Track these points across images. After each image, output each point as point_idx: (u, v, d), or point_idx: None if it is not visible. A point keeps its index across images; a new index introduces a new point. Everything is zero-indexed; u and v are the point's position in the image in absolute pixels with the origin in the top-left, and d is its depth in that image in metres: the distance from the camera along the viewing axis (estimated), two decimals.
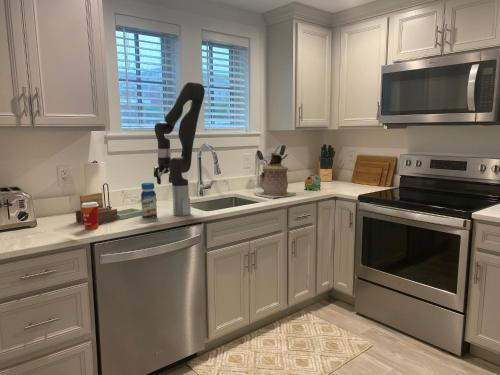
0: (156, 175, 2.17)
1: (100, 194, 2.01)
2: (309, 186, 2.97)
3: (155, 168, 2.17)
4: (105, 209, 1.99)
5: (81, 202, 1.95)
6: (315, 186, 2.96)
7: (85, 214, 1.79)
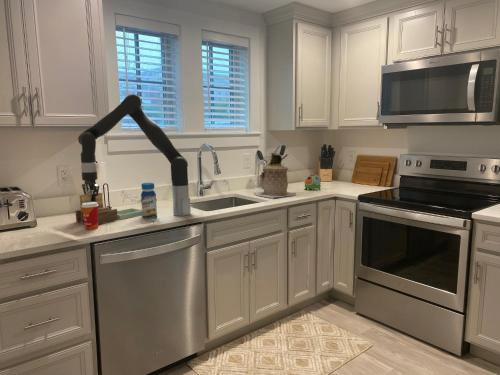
0: (97, 193, 1.97)
1: (100, 194, 2.01)
2: (309, 186, 2.97)
3: (97, 187, 1.94)
4: (105, 209, 1.99)
5: (81, 202, 1.95)
6: (315, 186, 2.96)
7: (85, 214, 1.79)
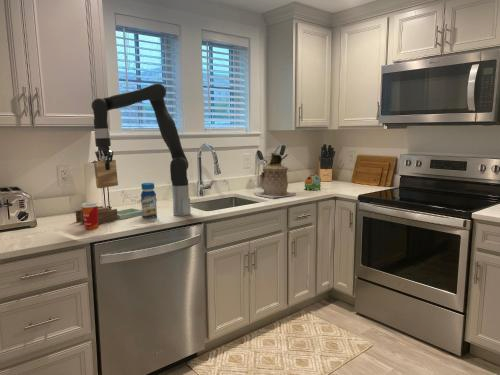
0: (111, 159, 1.98)
1: (114, 161, 2.03)
2: (309, 186, 2.97)
3: (111, 153, 1.96)
4: (105, 209, 1.99)
5: (96, 168, 1.96)
6: (315, 186, 2.96)
7: (85, 214, 1.79)
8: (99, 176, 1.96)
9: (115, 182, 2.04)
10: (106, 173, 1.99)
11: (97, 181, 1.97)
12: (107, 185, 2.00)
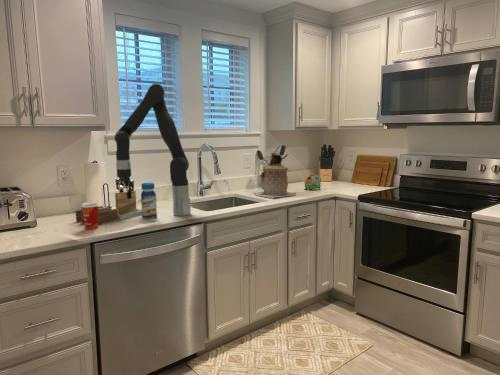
0: (133, 188, 2.05)
1: (134, 192, 2.11)
2: (309, 186, 2.97)
3: (132, 182, 2.04)
4: (105, 209, 1.99)
5: (116, 199, 2.05)
6: (315, 186, 2.96)
7: (85, 214, 1.79)
8: (119, 207, 2.05)
9: None
10: (126, 203, 2.08)
11: (117, 212, 2.06)
12: None
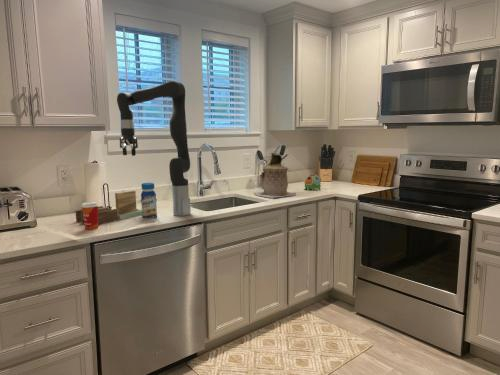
0: (137, 145, 2.18)
1: (134, 192, 2.11)
2: (309, 186, 2.97)
3: (135, 139, 2.17)
4: (105, 209, 1.99)
5: (116, 199, 2.05)
6: (315, 186, 2.96)
7: (85, 214, 1.79)
8: (119, 207, 2.05)
9: None
10: (126, 203, 2.08)
11: (117, 212, 2.06)
12: None
